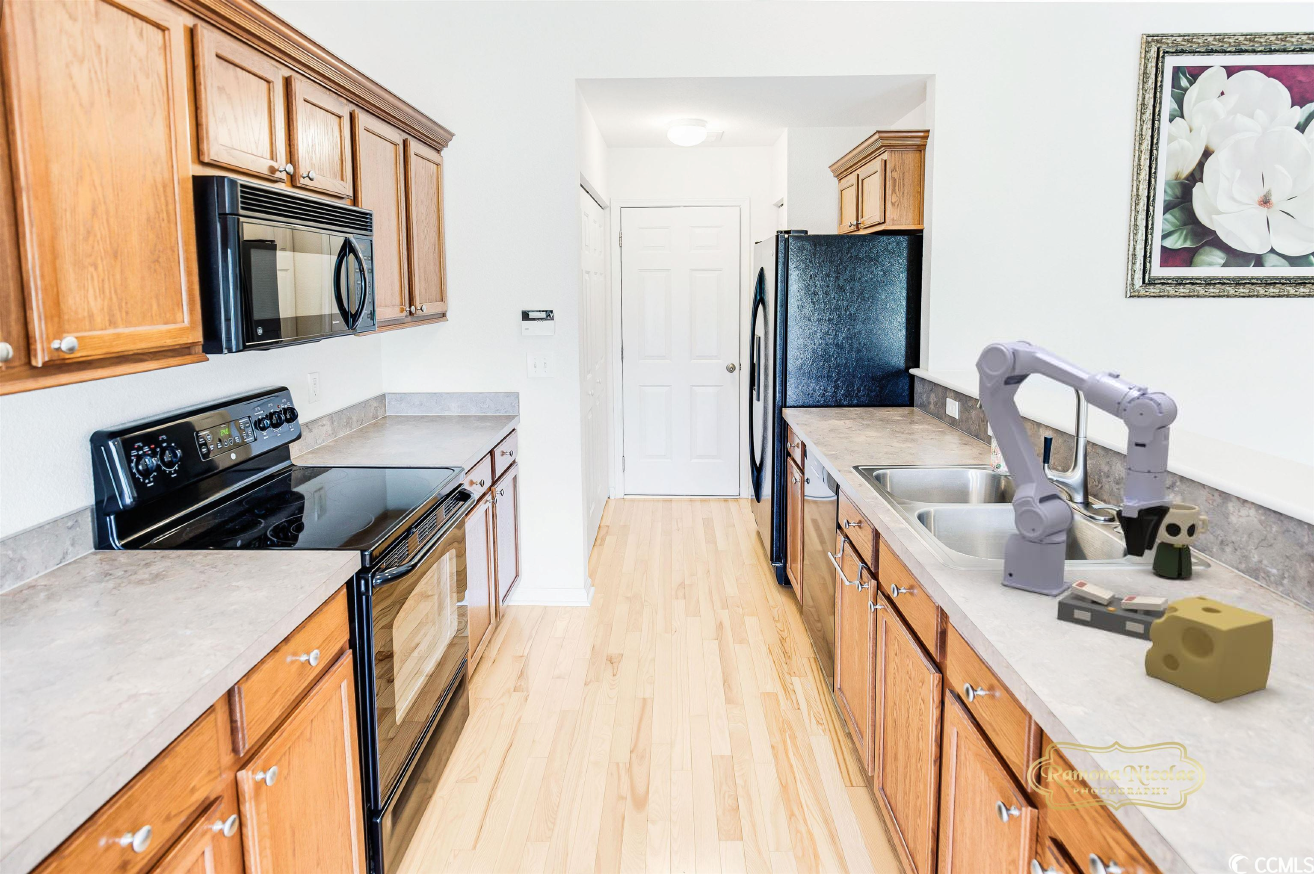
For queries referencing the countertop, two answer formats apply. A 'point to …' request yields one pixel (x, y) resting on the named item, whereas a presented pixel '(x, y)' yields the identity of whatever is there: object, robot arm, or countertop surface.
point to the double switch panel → (1108, 615)
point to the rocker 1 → (1092, 592)
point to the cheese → (1211, 648)
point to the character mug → (1178, 540)
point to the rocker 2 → (1144, 603)
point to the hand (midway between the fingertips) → (1140, 552)
